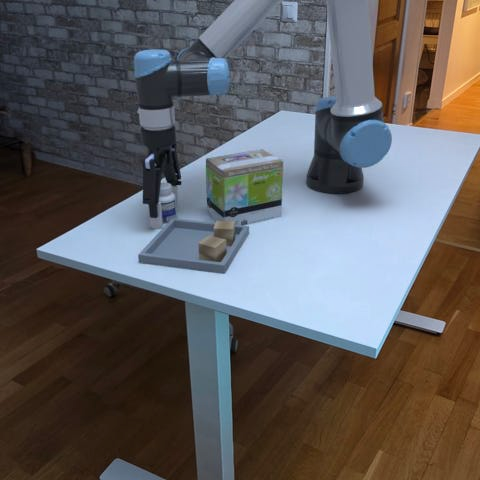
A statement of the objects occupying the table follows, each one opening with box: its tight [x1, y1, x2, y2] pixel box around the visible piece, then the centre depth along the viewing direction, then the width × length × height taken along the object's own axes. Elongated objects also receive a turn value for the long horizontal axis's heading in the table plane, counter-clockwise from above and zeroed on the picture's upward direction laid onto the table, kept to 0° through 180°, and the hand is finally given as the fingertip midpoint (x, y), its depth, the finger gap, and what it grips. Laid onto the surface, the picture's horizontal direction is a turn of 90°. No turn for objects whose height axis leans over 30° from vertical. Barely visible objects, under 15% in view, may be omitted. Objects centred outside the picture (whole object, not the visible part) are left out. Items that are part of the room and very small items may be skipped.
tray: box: [137, 218, 250, 275], centre depth 118 cm, size 18×18×2 cm
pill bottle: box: [159, 182, 178, 225], centre depth 130 cm, size 5×5×9 cm
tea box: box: [205, 148, 284, 226], centre depth 130 cm, size 15×10×15 cm
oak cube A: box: [214, 220, 235, 246], centre depth 120 cm, size 4×4×4 cm
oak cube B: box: [198, 235, 227, 262], centre depth 113 cm, size 4×4×4 cm
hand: (165, 219), depth 132 cm, fingers open, 9 cm apart
